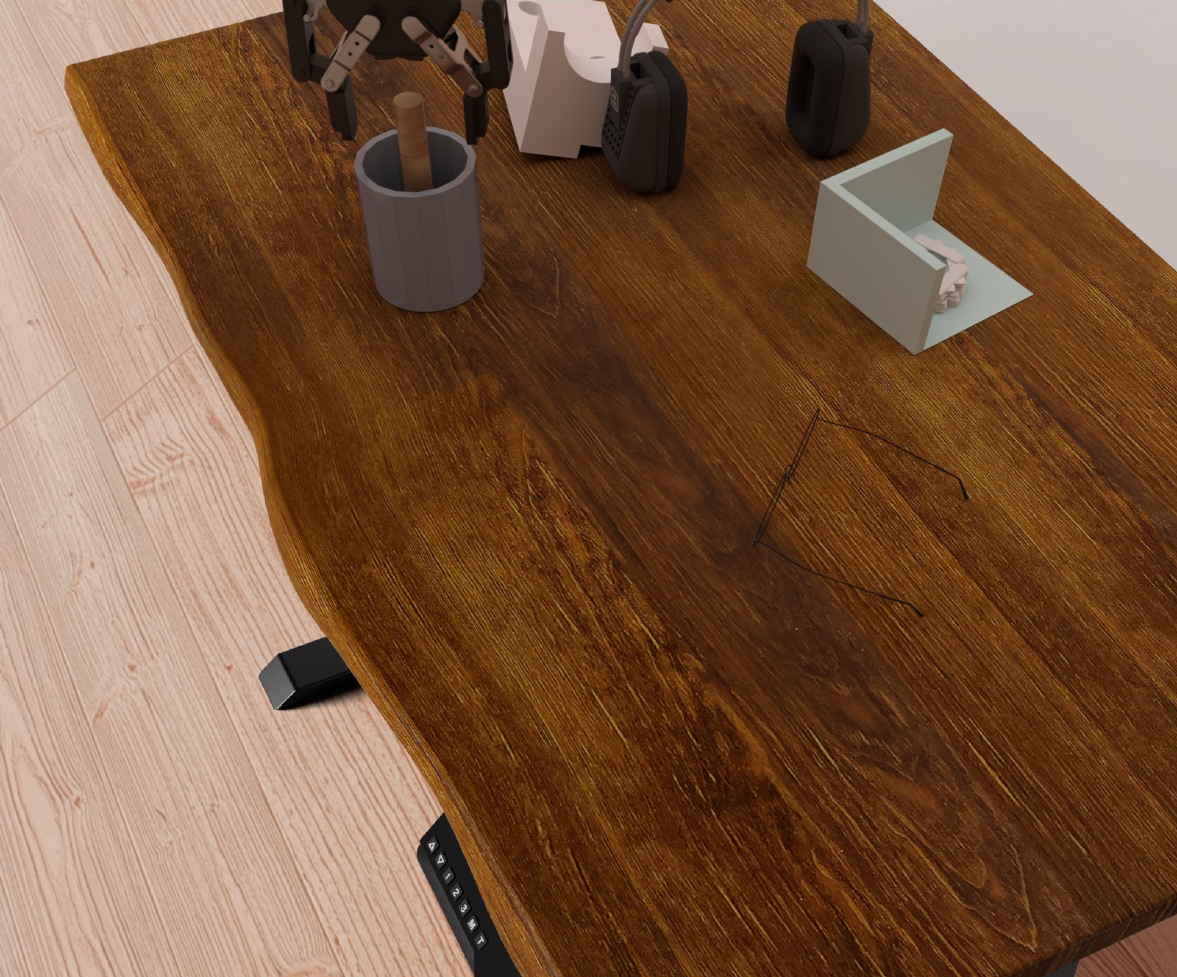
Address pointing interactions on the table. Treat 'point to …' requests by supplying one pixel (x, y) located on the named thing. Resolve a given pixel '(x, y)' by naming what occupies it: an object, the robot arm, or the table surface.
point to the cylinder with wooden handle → (413, 141)
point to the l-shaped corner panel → (904, 249)
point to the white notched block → (564, 72)
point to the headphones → (660, 101)
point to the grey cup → (422, 223)
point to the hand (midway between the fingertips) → (411, 136)
